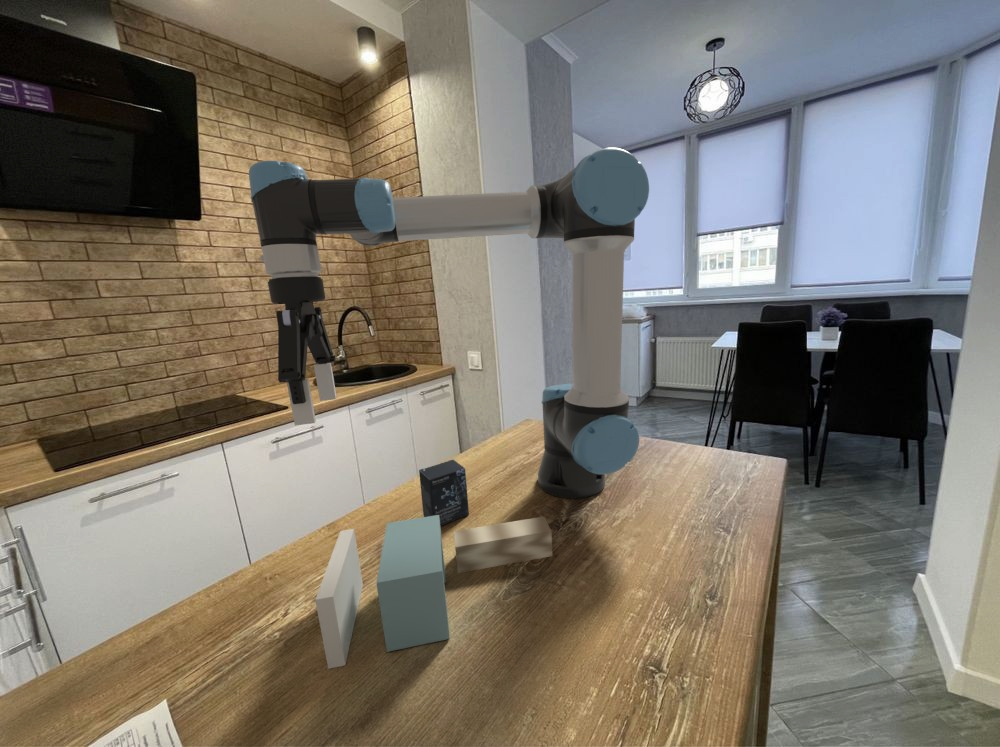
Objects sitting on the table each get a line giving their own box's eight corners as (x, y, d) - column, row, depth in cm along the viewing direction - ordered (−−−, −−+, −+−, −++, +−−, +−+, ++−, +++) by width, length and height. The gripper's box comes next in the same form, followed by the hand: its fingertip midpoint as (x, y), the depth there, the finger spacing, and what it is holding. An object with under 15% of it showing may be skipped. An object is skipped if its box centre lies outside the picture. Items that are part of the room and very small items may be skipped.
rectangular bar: (544, 541, 70) (543, 516, 69) (552, 557, 66) (551, 530, 65) (456, 556, 68) (453, 531, 67) (457, 574, 64) (455, 547, 62)
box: (434, 530, 75) (429, 479, 73) (423, 517, 80) (417, 469, 78) (470, 515, 80) (465, 467, 77) (457, 503, 84) (453, 458, 82)
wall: (362, 584, 62) (354, 528, 60) (345, 665, 49) (333, 596, 47) (349, 587, 62) (340, 530, 60) (328, 669, 48) (315, 599, 46)
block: (445, 571, 64) (439, 514, 62) (449, 638, 51) (442, 571, 49) (394, 580, 62) (386, 523, 60) (386, 651, 50) (376, 582, 48)
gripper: (295, 281, 71) (315, 394, 75) (227, 273, 47) (261, 440, 51) (339, 278, 72) (355, 389, 76) (294, 270, 48) (322, 433, 52)
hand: (318, 410), depth 64 cm, fingers open, 13 cm apart
